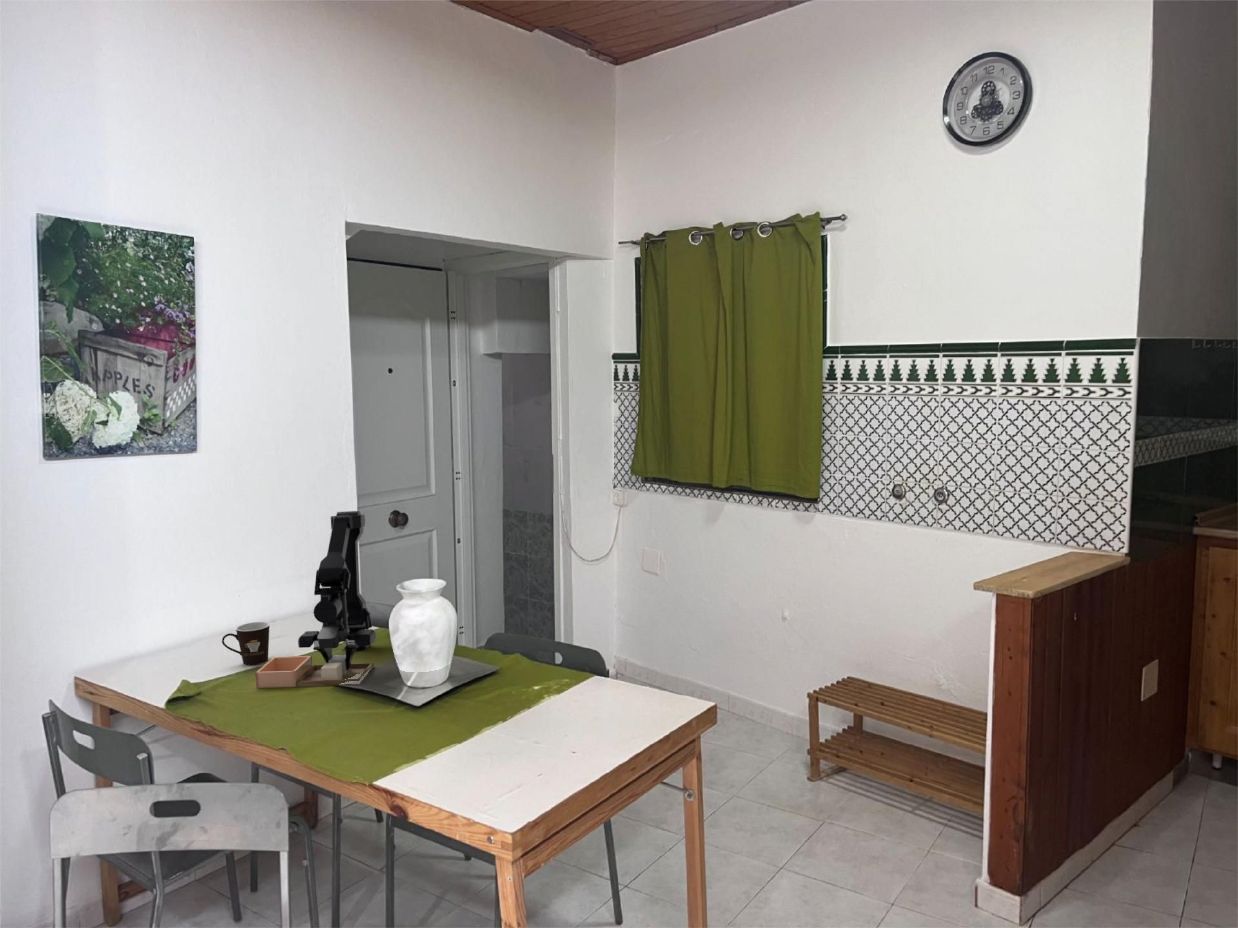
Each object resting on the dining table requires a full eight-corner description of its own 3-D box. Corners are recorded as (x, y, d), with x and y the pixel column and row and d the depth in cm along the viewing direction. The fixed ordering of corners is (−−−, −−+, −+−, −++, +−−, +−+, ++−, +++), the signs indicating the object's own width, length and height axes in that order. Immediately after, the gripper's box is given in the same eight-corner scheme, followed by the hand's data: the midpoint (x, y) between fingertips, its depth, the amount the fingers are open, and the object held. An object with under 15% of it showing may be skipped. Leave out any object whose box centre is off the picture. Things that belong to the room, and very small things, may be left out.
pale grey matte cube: (334, 669, 237) (333, 655, 236) (349, 669, 237) (348, 654, 236) (329, 675, 233) (328, 660, 232) (345, 674, 233) (343, 659, 232)
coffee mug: (277, 656, 252) (275, 621, 251) (262, 666, 243) (259, 630, 242) (238, 656, 253) (235, 621, 252) (222, 666, 245) (219, 631, 243)
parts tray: (314, 670, 239) (313, 664, 238) (374, 669, 238) (373, 662, 238) (296, 688, 226) (295, 681, 225) (359, 686, 225) (359, 679, 225)
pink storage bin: (275, 673, 238) (273, 656, 237) (312, 672, 238) (311, 655, 237) (256, 689, 226) (255, 672, 225) (296, 688, 226) (294, 671, 225)
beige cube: (327, 677, 231) (325, 662, 230) (342, 677, 231) (341, 662, 230) (321, 683, 227) (320, 668, 227) (337, 682, 227) (336, 667, 226)
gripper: (288, 622, 225) (292, 682, 227) (362, 619, 225) (366, 679, 227) (303, 609, 236) (308, 667, 238) (374, 607, 236) (378, 664, 238)
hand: (339, 670), depth 235 cm, fingers closed on pale grey matte cube, 4 cm apart
